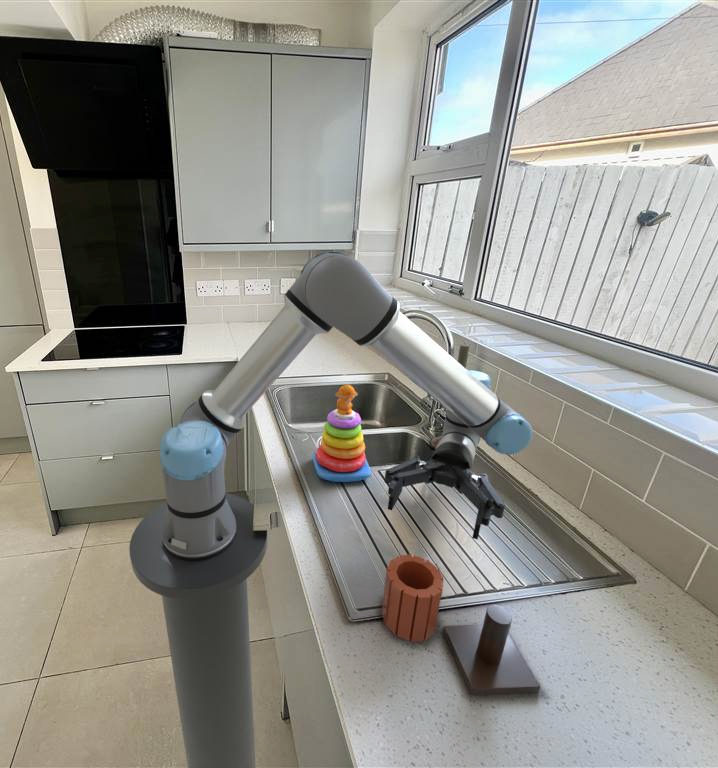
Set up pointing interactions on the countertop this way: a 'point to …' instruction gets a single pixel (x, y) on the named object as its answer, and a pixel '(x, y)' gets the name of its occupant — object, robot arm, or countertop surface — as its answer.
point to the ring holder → (490, 656)
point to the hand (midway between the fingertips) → (431, 517)
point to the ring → (412, 597)
